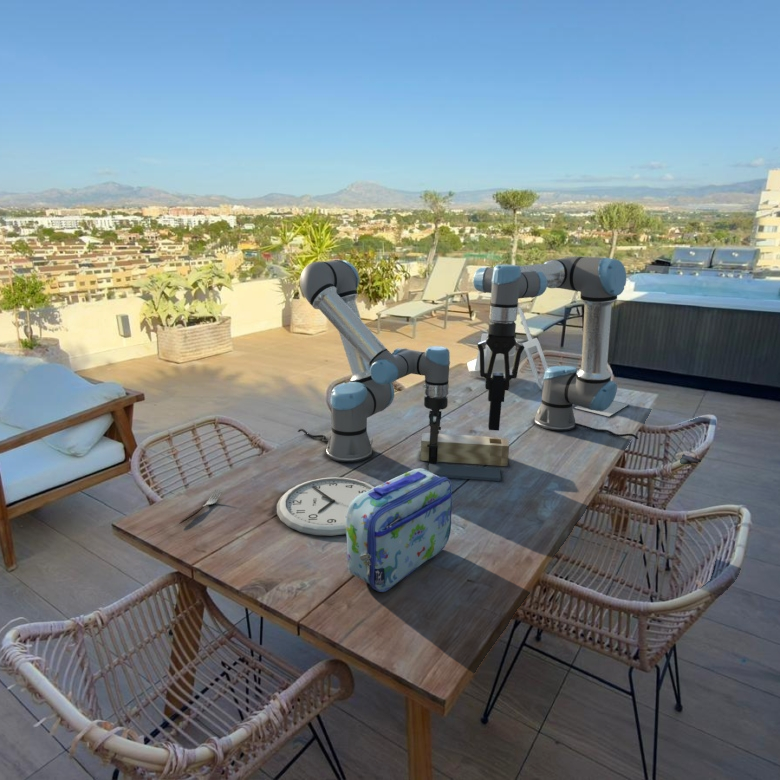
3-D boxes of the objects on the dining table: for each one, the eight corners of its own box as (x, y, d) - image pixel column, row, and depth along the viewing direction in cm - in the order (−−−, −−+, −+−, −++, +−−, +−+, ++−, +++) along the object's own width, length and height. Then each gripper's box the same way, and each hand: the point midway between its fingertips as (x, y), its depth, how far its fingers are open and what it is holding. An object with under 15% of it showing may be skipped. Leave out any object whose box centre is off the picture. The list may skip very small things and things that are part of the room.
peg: (498, 427, 158) (502, 372, 153) (499, 430, 155) (503, 375, 150) (488, 426, 159) (492, 372, 154) (488, 430, 156) (493, 375, 151)
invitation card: (608, 416, 214) (573, 407, 224) (608, 416, 214) (573, 408, 224) (628, 404, 229) (594, 396, 238) (628, 405, 229) (594, 397, 238)
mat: (498, 471, 165) (499, 468, 164) (500, 481, 158) (501, 478, 158) (429, 466, 167) (429, 463, 167) (428, 476, 160) (428, 473, 160)
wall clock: (392, 527, 129) (268, 531, 127) (391, 533, 130) (269, 537, 127) (383, 473, 158) (282, 475, 155) (383, 478, 158) (282, 480, 156)
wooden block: (505, 457, 175) (507, 437, 173) (507, 466, 168) (509, 446, 166) (421, 451, 178) (422, 432, 176) (420, 460, 171) (421, 440, 169)
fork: (175, 524, 132) (174, 517, 132) (215, 495, 146) (215, 489, 146) (183, 526, 131) (182, 519, 131) (223, 497, 146) (222, 490, 145)
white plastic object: (487, 418, 267) (468, 395, 242) (469, 346, 289) (449, 318, 264) (558, 394, 255) (545, 368, 230) (533, 321, 277) (518, 289, 252)
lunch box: (374, 604, 105) (375, 512, 99) (340, 579, 113) (339, 492, 106) (455, 552, 123) (460, 471, 117) (421, 533, 130) (424, 456, 124)
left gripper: (426, 383, 180) (424, 441, 186) (422, 406, 156) (419, 471, 163) (448, 384, 179) (445, 442, 185) (447, 408, 156) (444, 473, 162)
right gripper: (529, 320, 150) (522, 397, 157) (473, 318, 152) (468, 394, 159) (533, 324, 143) (525, 405, 150) (474, 322, 145) (468, 402, 152)
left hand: (433, 456), depth 174 cm, fingers open, 12 cm apart
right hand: (496, 400), depth 154 cm, fingers closed on peg, 3 cm apart
